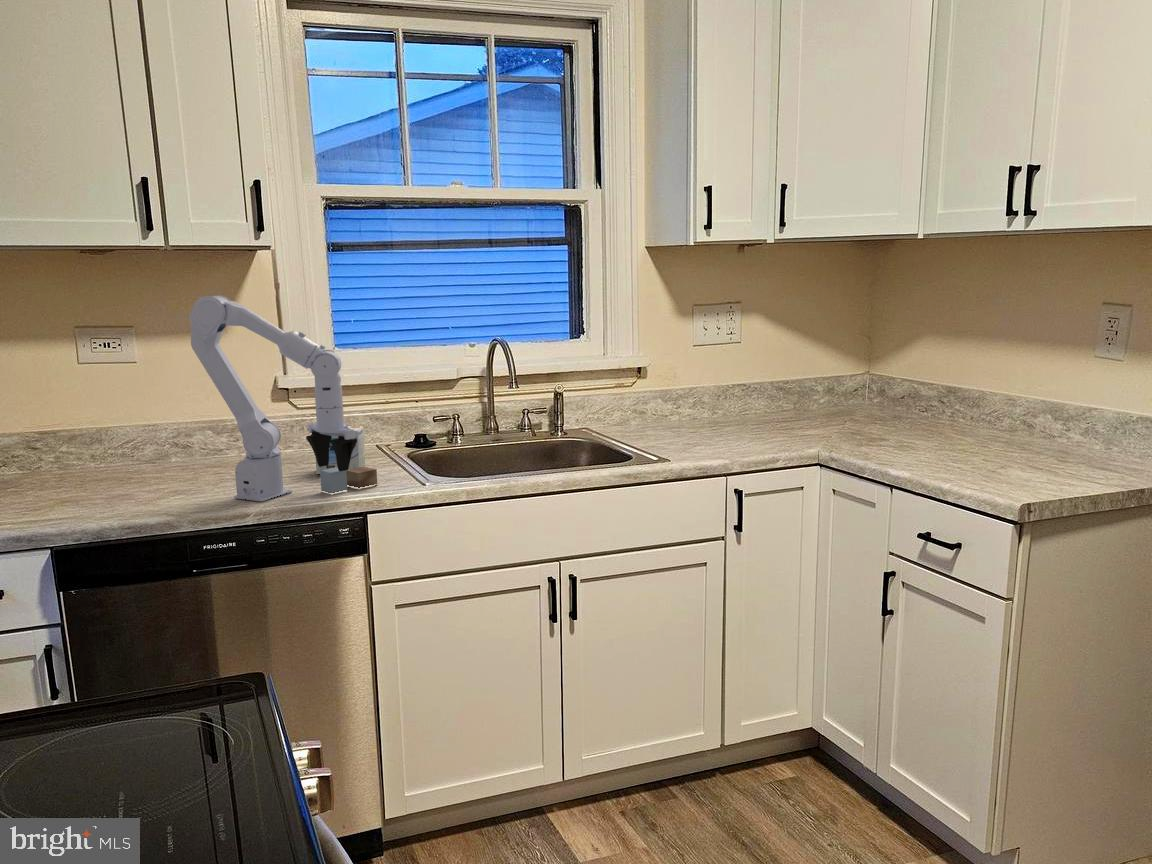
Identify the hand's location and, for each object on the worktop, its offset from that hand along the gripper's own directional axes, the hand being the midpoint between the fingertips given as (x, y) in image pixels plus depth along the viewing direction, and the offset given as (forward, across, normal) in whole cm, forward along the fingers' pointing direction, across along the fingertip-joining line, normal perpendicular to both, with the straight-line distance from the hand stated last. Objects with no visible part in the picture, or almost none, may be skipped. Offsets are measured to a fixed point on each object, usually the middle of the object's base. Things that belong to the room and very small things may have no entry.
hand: (333, 468), depth 196 cm
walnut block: (+6, 0, -7) cm, 9 cm away
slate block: (+5, 0, 0) cm, 5 cm away
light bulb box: (+6, +16, -13) cm, 22 cm away
